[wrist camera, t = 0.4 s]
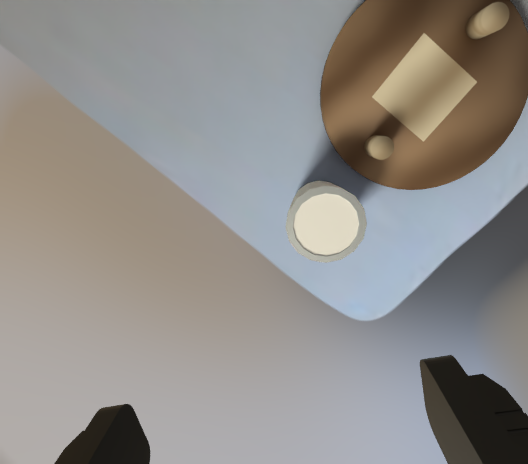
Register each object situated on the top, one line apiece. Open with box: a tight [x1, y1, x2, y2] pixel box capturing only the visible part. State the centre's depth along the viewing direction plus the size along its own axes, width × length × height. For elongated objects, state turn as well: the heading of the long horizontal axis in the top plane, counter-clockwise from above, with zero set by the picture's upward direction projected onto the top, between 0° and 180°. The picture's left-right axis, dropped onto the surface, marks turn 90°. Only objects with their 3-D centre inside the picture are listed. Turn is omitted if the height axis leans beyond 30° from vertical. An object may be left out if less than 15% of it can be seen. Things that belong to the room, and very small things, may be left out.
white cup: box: [286, 180, 367, 263], centre depth 32 cm, size 7×7×7 cm
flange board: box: [320, 0, 528, 190], centre depth 30 cm, size 18×18×4 cm
